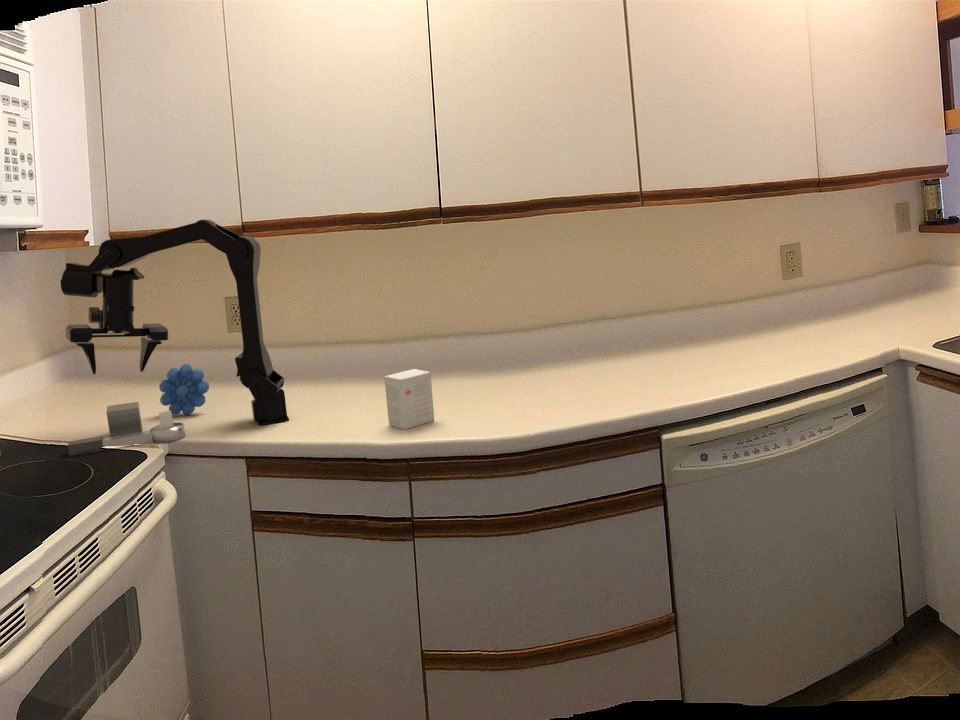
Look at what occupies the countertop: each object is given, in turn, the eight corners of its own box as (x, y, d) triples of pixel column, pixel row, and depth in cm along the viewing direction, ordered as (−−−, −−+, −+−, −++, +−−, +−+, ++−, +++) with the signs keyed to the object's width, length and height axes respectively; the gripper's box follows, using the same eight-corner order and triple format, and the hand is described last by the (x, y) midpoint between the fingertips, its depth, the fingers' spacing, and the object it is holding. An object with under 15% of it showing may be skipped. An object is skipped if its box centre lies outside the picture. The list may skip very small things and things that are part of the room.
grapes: (219, 408, 174) (212, 359, 171) (208, 416, 167) (201, 365, 165) (170, 411, 174) (163, 361, 172) (158, 419, 168) (150, 367, 165)
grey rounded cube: (142, 428, 161) (138, 401, 160) (142, 434, 155) (138, 407, 154) (112, 432, 159) (107, 406, 157) (111, 439, 153) (106, 412, 152)
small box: (418, 416, 156) (414, 368, 154) (435, 421, 152) (431, 371, 150) (387, 425, 151) (383, 375, 149) (404, 430, 147) (399, 379, 145)
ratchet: (184, 432, 156) (180, 407, 155) (186, 439, 150) (182, 413, 149) (71, 450, 147) (67, 424, 146) (68, 459, 142) (63, 432, 141)
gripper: (155, 294, 165) (154, 362, 168) (60, 293, 154) (61, 366, 157) (169, 302, 157) (168, 373, 159) (70, 301, 145) (71, 378, 148)
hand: (118, 372), depth 156 cm, fingers open, 9 cm apart
